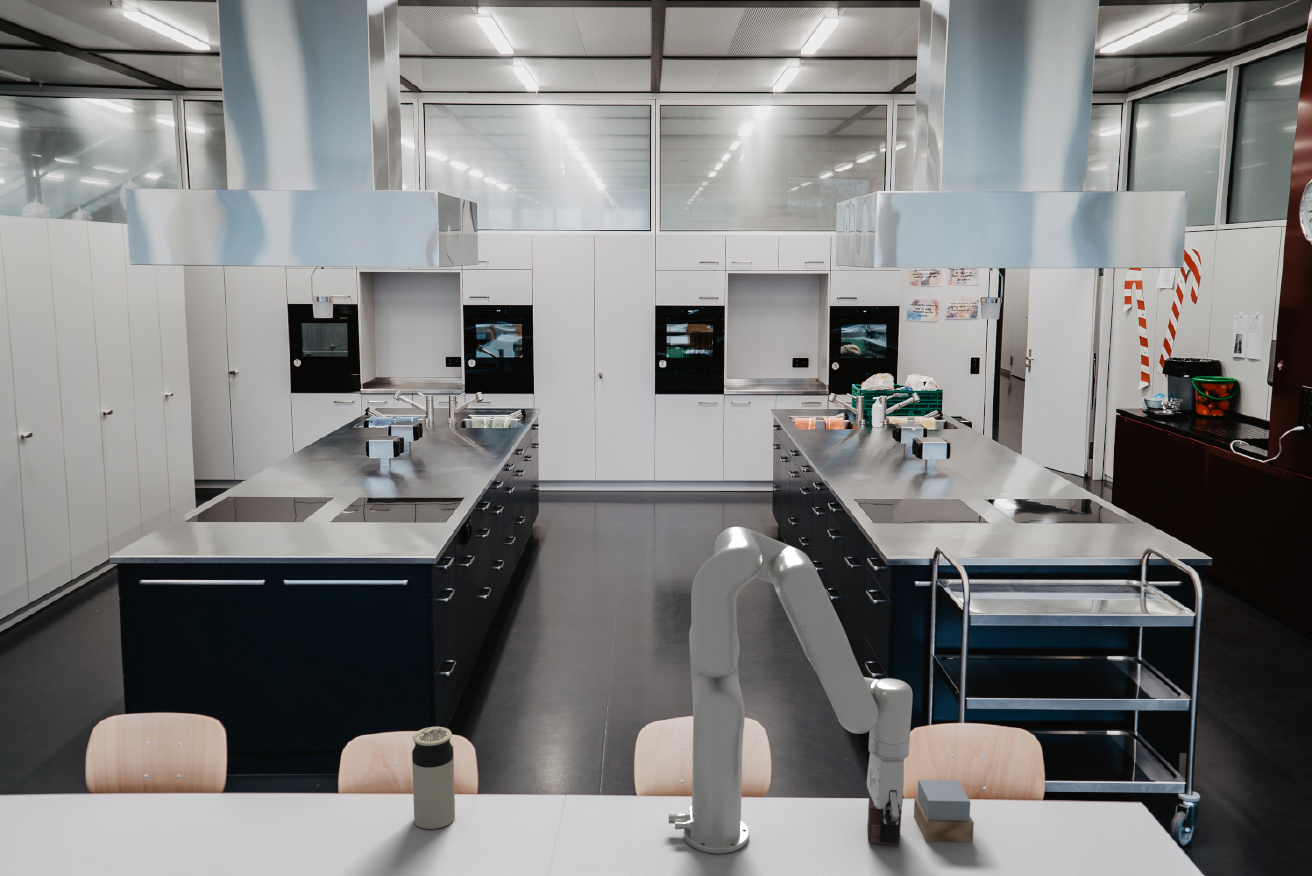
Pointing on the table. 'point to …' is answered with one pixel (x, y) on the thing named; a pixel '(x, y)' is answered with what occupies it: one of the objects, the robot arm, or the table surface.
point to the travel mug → (433, 778)
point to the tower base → (943, 828)
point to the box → (875, 821)
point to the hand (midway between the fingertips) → (883, 829)
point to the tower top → (943, 800)
